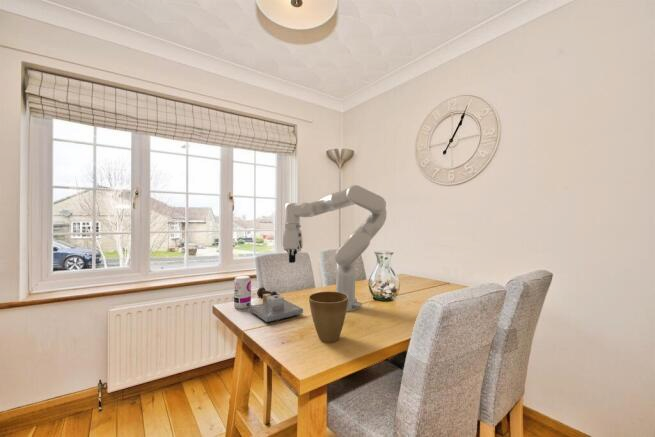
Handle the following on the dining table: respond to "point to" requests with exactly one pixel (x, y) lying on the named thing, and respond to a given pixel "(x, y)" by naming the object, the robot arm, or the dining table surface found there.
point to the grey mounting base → (276, 314)
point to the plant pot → (328, 314)
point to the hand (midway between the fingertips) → (292, 262)
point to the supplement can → (242, 292)
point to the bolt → (265, 292)
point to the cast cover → (275, 302)
